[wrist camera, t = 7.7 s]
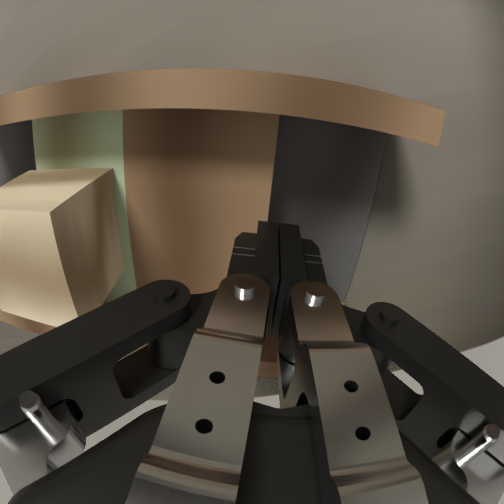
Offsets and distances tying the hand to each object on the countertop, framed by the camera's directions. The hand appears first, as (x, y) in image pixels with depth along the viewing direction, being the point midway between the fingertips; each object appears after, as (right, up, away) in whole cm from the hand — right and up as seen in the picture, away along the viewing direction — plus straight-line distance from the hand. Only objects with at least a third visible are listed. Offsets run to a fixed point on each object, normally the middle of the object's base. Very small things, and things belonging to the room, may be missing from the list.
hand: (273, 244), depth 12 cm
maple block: (-9, +1, +1) cm, 9 cm away
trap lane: (-6, +2, +3) cm, 7 cm away
